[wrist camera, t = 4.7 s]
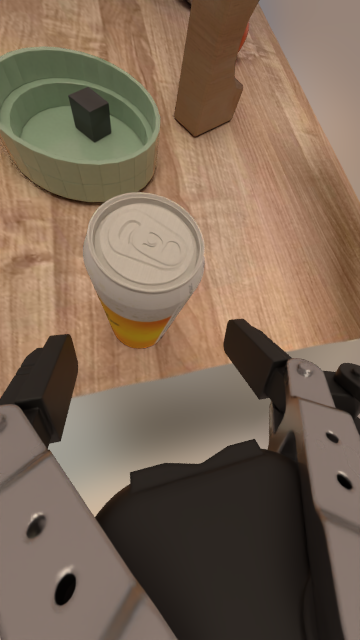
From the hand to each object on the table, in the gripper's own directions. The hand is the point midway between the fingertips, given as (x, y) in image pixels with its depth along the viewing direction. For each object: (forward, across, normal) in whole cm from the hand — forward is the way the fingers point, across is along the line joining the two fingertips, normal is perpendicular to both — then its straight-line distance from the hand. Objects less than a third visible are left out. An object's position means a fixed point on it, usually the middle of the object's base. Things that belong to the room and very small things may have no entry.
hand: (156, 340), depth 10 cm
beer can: (+12, 0, +6) cm, 13 cm away
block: (+32, +4, -16) cm, 36 cm away
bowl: (+30, +5, -13) cm, 33 cm away
